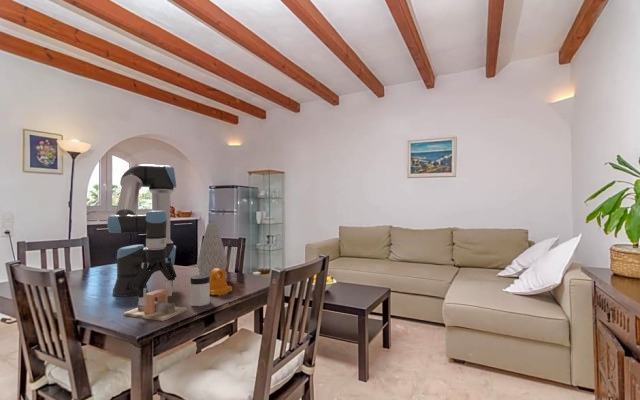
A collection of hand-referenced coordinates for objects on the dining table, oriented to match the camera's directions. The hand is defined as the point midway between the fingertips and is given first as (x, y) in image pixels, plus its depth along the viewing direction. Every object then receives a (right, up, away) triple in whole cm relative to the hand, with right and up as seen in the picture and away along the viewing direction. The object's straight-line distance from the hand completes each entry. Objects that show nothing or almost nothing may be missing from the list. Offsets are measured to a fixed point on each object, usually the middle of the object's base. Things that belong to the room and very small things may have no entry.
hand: (156, 300), depth 135 cm
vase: (+6, -5, +53) cm, 53 cm away
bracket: (+17, -5, +29) cm, 34 cm away
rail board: (0, -5, 0) cm, 5 cm away
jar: (+14, -5, +12) cm, 19 cm away
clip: (0, -4, 0) cm, 4 cm away
